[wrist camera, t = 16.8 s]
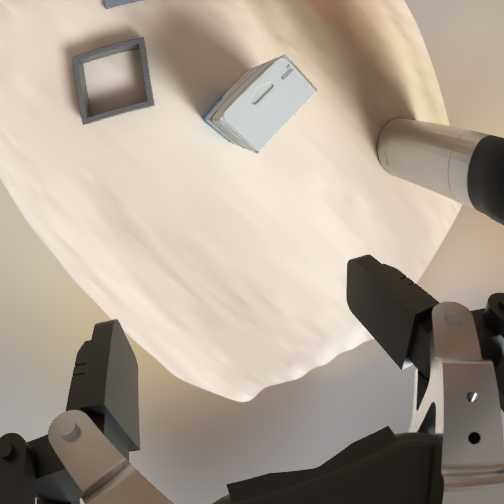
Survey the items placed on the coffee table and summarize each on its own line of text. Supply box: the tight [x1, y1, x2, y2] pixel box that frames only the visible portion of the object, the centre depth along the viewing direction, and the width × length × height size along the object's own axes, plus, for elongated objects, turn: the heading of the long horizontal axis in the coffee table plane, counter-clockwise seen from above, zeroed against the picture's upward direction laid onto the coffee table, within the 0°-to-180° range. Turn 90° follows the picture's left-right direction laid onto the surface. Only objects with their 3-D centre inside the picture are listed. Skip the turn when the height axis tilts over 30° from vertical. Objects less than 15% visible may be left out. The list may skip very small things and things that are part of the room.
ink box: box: [203, 54, 317, 153], centre depth 30 cm, size 8×5×12 cm, turn 136°
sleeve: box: [72, 37, 155, 125], centre depth 29 cm, size 8×8×2 cm
